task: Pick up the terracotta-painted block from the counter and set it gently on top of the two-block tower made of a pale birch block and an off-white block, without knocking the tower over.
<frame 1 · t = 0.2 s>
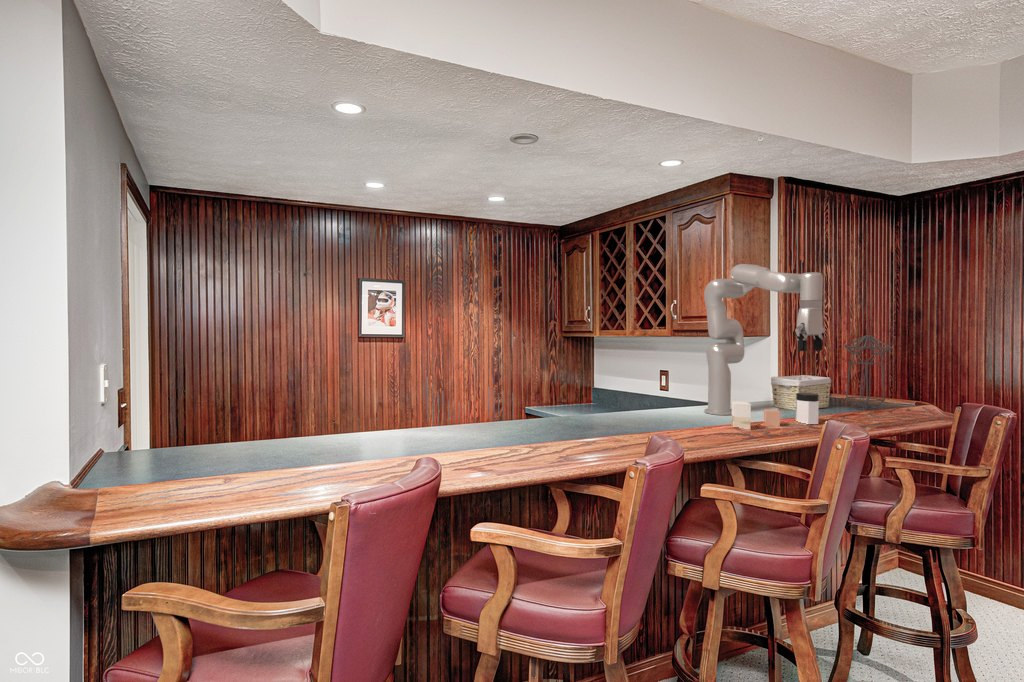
hand: (810, 350, 218), 30 cm above the countertop, tool pointing down, fingers open, 9 cm apart
middle block: (740, 415, 223), point 5 cm above the countertop, touching base block
storage basket: (800, 408, 277), on the countertop
top block: (771, 425, 230), on the countertop
geometric lantern: (865, 408, 275), on the countertop
jar: (806, 423, 235), on the countertop
base block: (740, 428, 223), on the countertop, touching middle block
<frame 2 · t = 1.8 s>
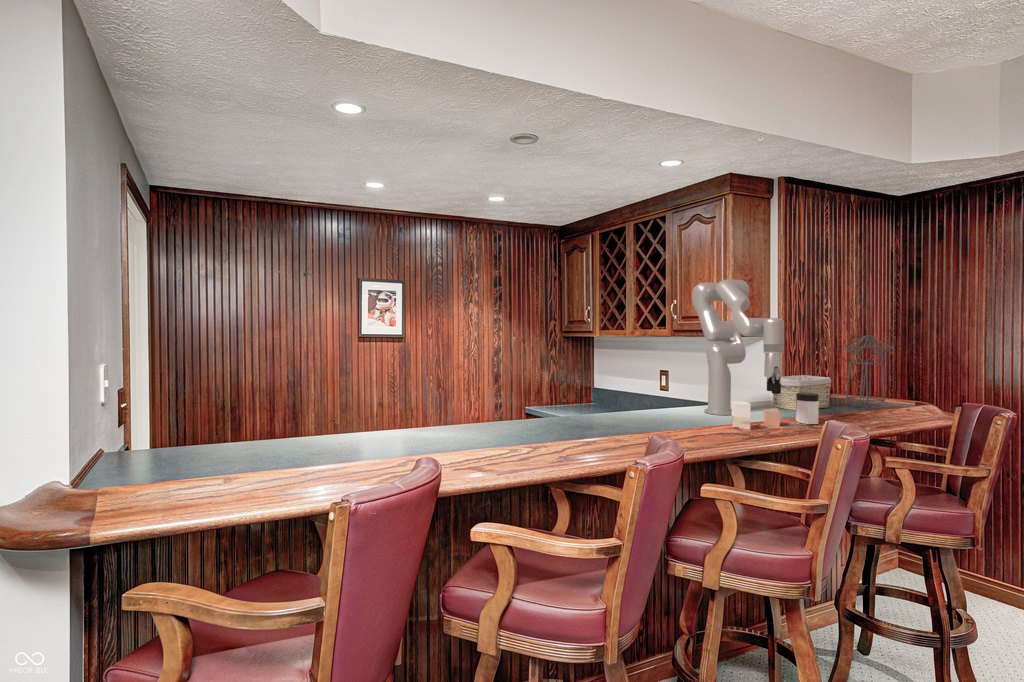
hand: (773, 392, 229), 13 cm above the countertop, tool pointing down, fingers open, 9 cm apart
nothing on the countertop moved.
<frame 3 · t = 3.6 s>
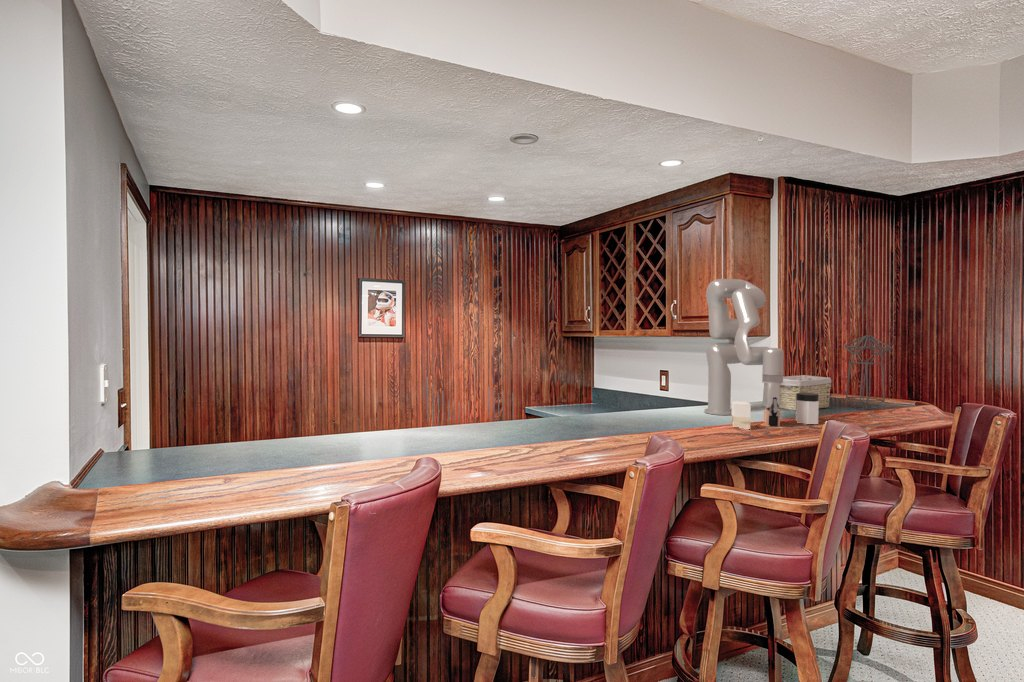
hand: (771, 424, 230), 0 cm above the countertop, tool pointing down, fingers closed on top block, 4 cm apart
top block: (771, 425, 230), on the countertop, touching gripper
everything else where it was.
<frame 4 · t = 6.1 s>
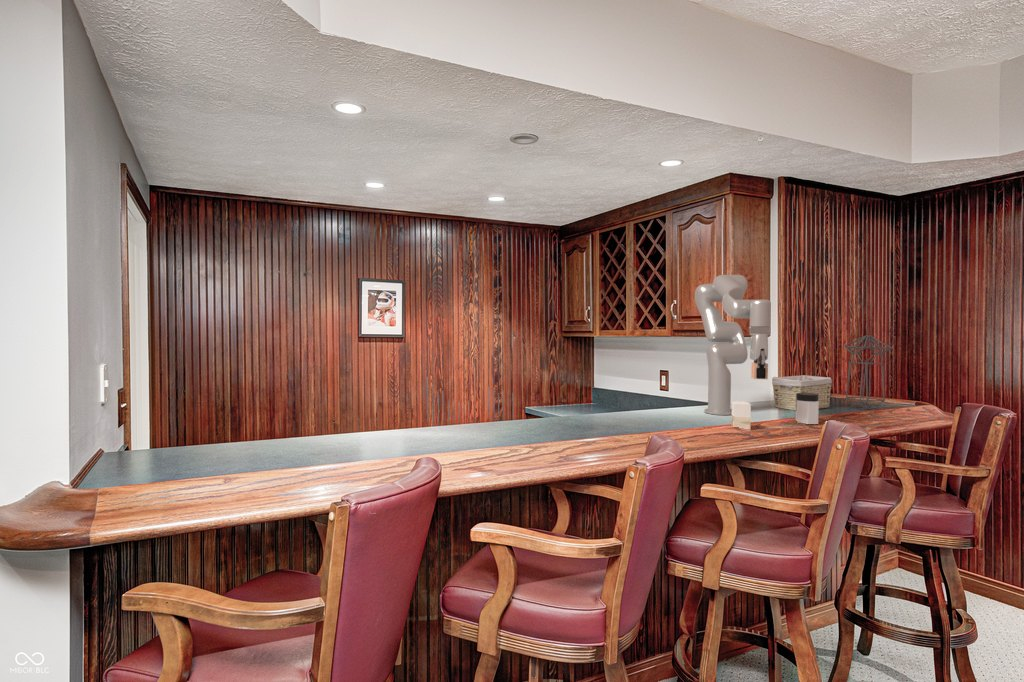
hand: (759, 377, 226), 20 cm above the countertop, tool pointing down, fingers closed on top block, 4 cm apart
top block: (759, 378, 226), point 19 cm above the countertop, touching gripper
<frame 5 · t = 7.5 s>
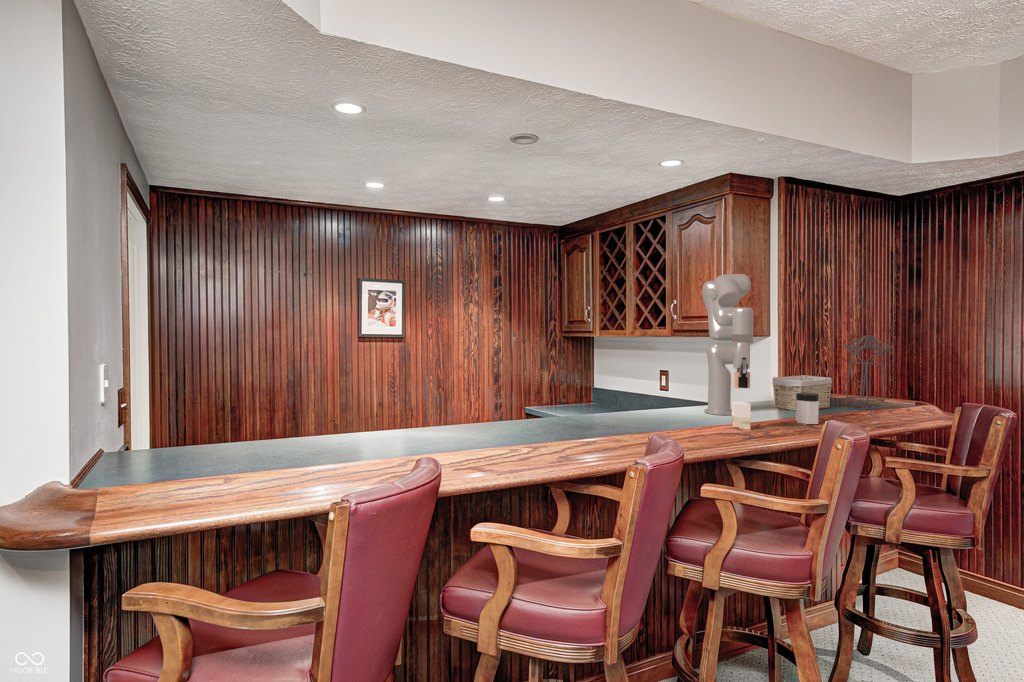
hand: (741, 386, 222), 16 cm above the countertop, tool pointing down, fingers closed on top block, 4 cm apart
top block: (741, 387, 222), point 16 cm above the countertop, touching gripper
when the fingers open (12 cm above the countertop, at t = 8.8 s): top block drops 1 cm, resting on middle block.
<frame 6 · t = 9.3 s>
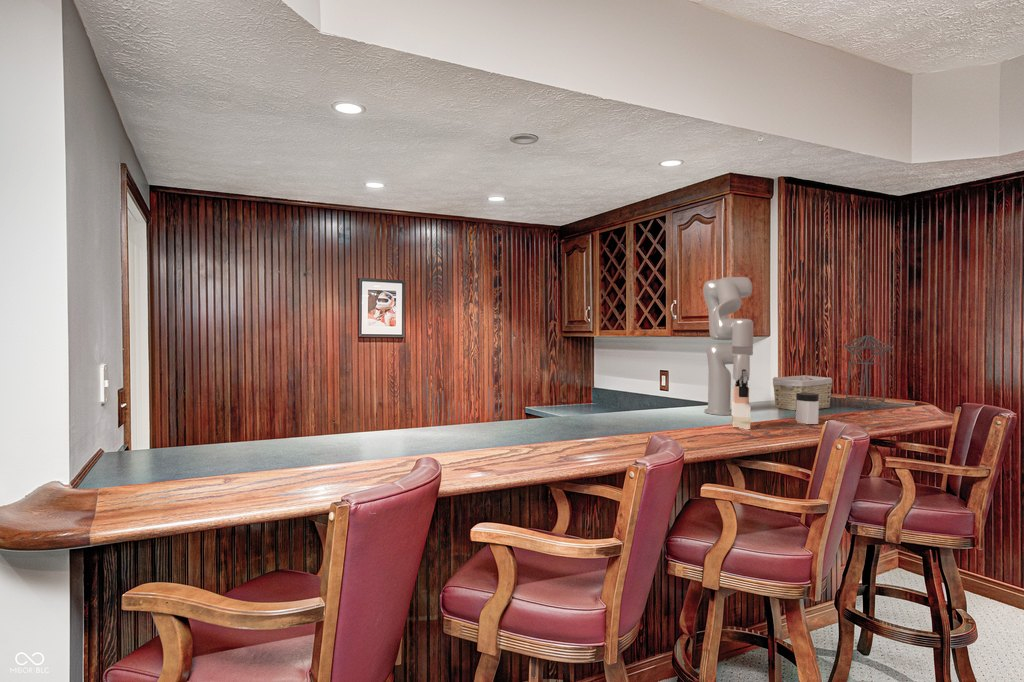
hand: (741, 395, 223), 13 cm above the countertop, tool pointing down, fingers open, 9 cm apart
middle block: (740, 415, 223), point 5 cm above the countertop, touching base block, top block
top block: (740, 402, 223), point 10 cm above the countertop, touching middle block
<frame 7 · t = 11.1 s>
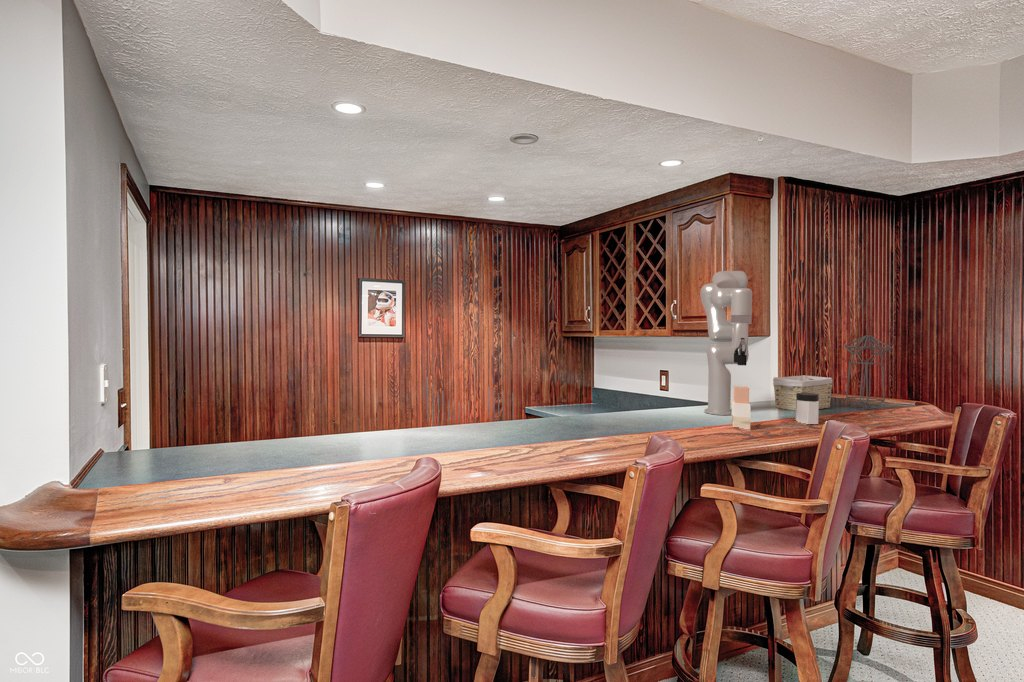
hand: (739, 363, 225), 25 cm above the countertop, tool pointing down, fingers open, 9 cm apart
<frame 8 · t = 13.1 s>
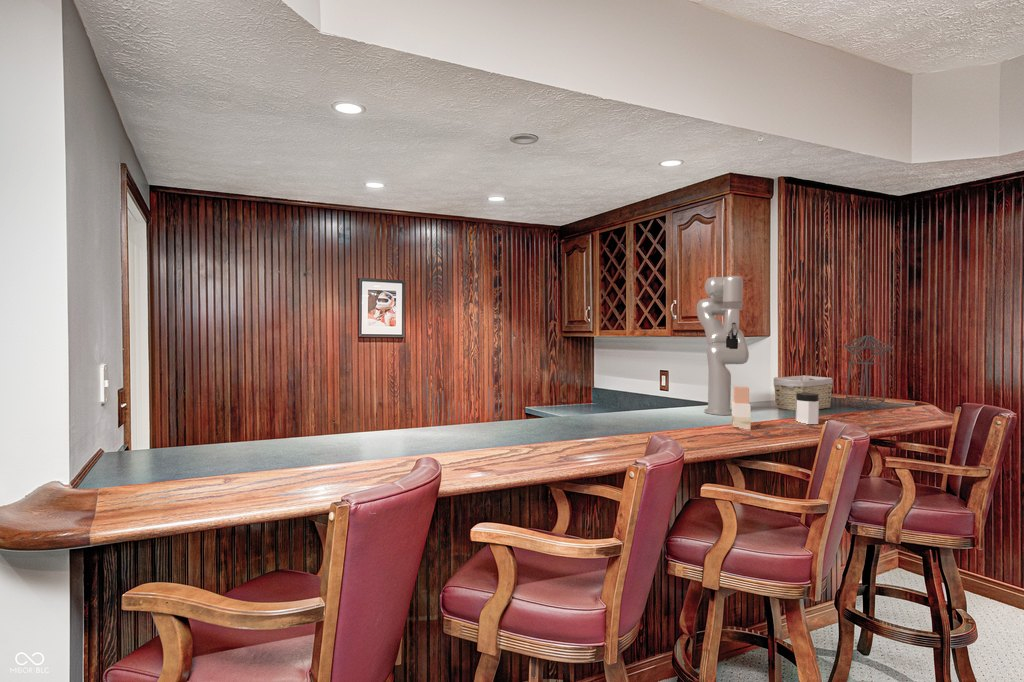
hand: (731, 348, 236), 30 cm above the countertop, tool pointing down, fingers open, 9 cm apart
at the end: top block 0.1 cm off-centre on the middle block, point 5.0 cm above the middle block's base; middle block point 4.9 cm above the countertop; base block moved 0.1 cm from its start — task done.
